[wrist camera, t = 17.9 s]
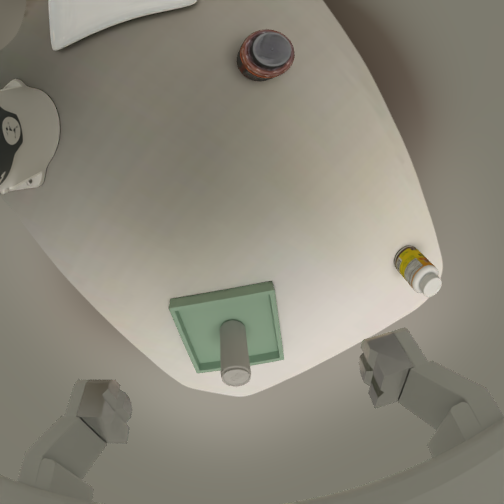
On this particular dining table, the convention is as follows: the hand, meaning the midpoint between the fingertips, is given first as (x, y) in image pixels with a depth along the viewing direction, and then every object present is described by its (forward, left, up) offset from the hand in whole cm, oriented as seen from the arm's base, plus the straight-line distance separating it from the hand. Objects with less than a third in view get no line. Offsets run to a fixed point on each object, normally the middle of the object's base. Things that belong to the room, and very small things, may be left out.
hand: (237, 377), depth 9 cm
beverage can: (-5, -32, -37) cm, 49 cm away
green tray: (-5, -32, -37) cm, 49 cm away
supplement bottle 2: (+30, -24, -37) cm, 54 cm away
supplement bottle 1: (+7, +12, -37) cm, 40 cm away
